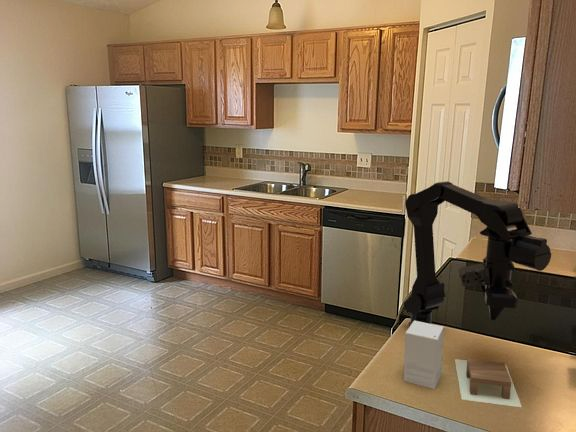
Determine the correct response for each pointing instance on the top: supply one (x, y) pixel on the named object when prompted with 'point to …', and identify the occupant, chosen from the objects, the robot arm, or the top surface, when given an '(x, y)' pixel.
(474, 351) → the top surface
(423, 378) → the supplement box
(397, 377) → the top surface
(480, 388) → the mat
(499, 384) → the footstool
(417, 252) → the robot arm
